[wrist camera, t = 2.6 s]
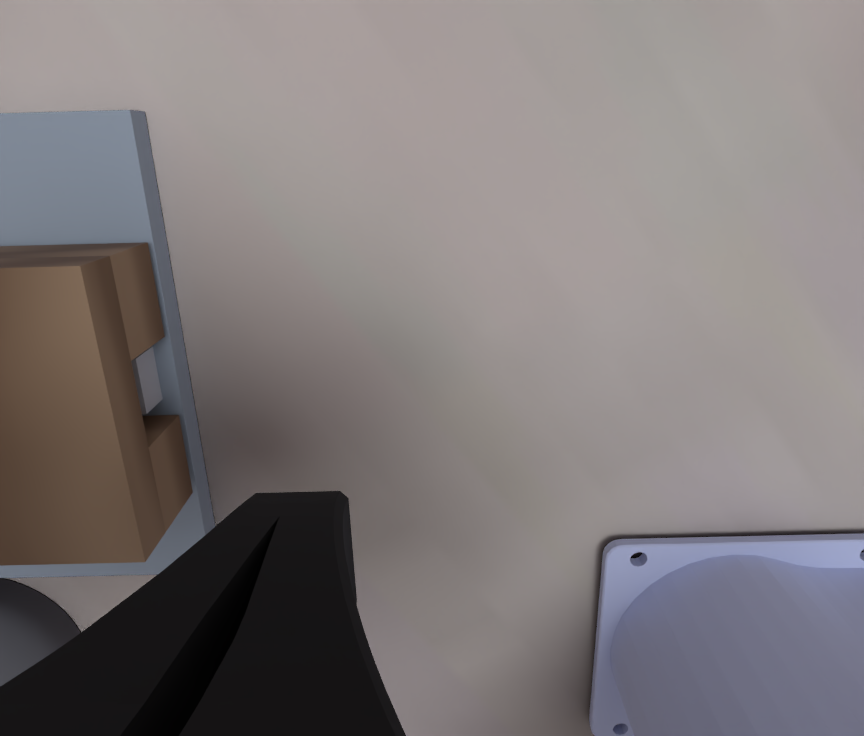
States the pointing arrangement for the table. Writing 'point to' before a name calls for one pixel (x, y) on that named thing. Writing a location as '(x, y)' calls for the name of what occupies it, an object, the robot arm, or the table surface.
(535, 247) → the table surface
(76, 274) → the block
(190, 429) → the board
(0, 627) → the dark gray cylinder
